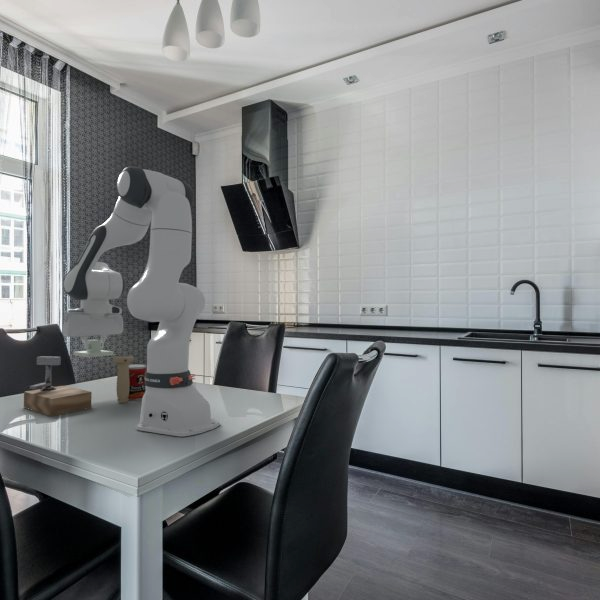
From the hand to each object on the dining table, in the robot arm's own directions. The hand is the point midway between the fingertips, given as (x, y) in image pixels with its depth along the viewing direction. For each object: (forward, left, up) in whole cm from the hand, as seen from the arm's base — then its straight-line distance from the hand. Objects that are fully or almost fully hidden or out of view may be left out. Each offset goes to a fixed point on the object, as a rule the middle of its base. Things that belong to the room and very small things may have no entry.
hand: (94, 348), depth 145 cm
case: (-4, +14, -17) cm, 22 cm away
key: (+1, +16, -12) cm, 20 cm away
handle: (-14, -2, -17) cm, 22 cm away
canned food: (-10, -9, -17) cm, 22 cm away
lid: (0, 0, -2) cm, 2 cm away
